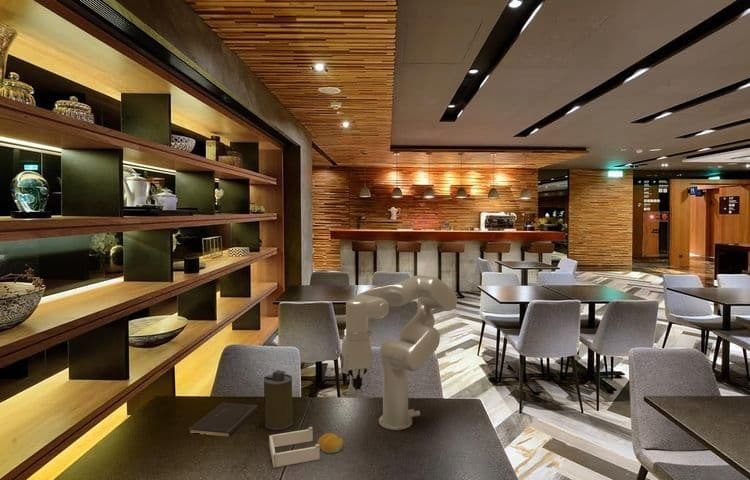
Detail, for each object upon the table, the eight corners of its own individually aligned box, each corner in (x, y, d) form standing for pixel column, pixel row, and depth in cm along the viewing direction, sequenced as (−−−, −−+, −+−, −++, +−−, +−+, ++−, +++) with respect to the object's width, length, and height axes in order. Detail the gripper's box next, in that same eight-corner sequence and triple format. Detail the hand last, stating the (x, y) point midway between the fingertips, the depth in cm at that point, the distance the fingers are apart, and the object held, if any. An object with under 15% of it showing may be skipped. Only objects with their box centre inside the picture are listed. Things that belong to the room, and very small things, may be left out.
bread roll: (328, 457, 143) (328, 445, 142) (313, 446, 149) (313, 434, 149) (349, 448, 148) (349, 436, 148) (333, 438, 155) (333, 427, 155)
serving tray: (312, 439, 154) (312, 426, 153) (319, 459, 141) (319, 445, 141) (269, 446, 149) (269, 433, 149) (273, 467, 136) (273, 453, 136)
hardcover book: (188, 434, 159) (188, 428, 158) (222, 407, 181) (222, 402, 181) (229, 438, 156) (229, 432, 155) (258, 410, 178) (258, 405, 178)
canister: (298, 419, 169) (297, 368, 168) (284, 432, 159) (283, 377, 158) (273, 415, 173) (272, 365, 172) (258, 427, 163) (257, 374, 162)
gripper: (374, 331, 156) (374, 382, 157) (333, 334, 151) (333, 387, 152) (381, 336, 149) (381, 389, 150) (338, 340, 144) (338, 395, 145)
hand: (357, 388), depth 151 cm, fingers closed
